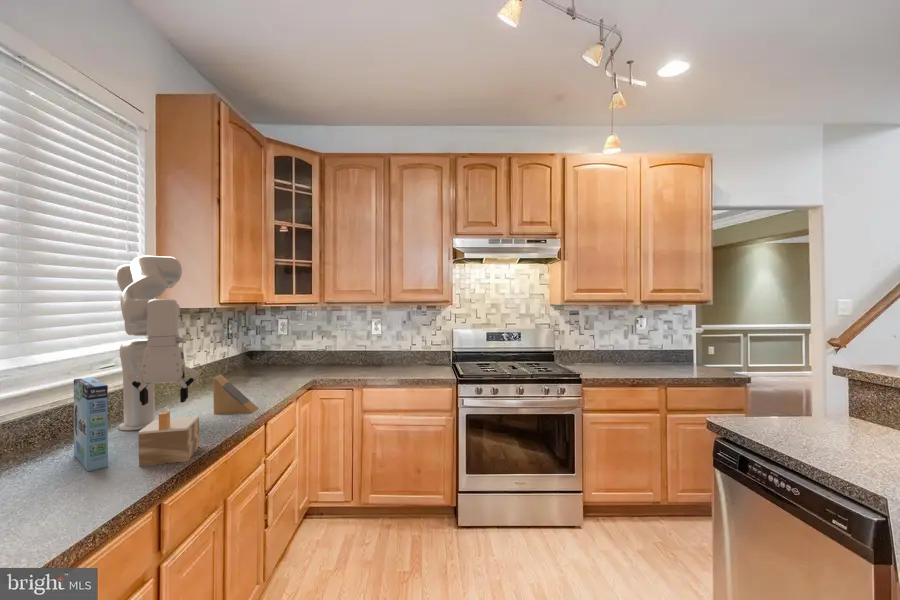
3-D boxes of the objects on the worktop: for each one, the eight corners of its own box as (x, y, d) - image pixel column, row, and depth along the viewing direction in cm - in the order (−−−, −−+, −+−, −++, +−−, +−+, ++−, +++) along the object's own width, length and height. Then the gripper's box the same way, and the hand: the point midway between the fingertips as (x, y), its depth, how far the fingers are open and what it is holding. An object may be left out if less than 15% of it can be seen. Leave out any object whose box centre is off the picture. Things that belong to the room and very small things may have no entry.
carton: (155, 450, 143) (155, 421, 143) (199, 446, 146) (198, 417, 146) (139, 466, 130) (138, 434, 130) (187, 461, 133) (186, 430, 133)
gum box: (73, 456, 139) (72, 379, 139) (95, 451, 143) (93, 376, 143) (86, 472, 126) (85, 387, 126) (109, 467, 130) (108, 384, 129)
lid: (155, 421, 143) (155, 404, 143) (198, 417, 146) (198, 401, 146) (138, 434, 130) (138, 415, 130) (186, 430, 133) (186, 412, 133)
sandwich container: (253, 413, 189) (252, 376, 189) (213, 414, 187) (212, 377, 187) (259, 408, 197) (258, 372, 197) (221, 409, 195) (220, 373, 195)
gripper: (200, 340, 138) (201, 398, 138) (133, 342, 134) (134, 402, 134) (193, 342, 131) (194, 403, 131) (122, 345, 126) (123, 408, 126)
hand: (164, 402), depth 132 cm, fingers open, 9 cm apart
